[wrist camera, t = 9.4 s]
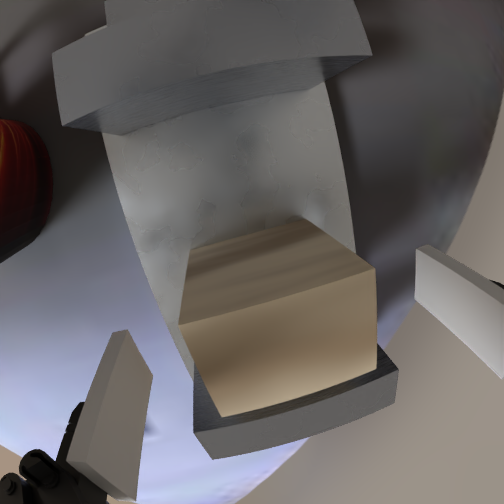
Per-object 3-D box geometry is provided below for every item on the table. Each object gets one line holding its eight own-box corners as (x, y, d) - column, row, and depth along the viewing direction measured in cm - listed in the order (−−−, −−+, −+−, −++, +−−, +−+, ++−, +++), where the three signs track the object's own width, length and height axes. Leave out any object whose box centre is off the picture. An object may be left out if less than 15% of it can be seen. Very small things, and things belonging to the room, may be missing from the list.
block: (189, 250, 17) (178, 325, 9) (305, 218, 17) (375, 268, 10) (214, 322, 19) (221, 417, 11) (318, 292, 19) (376, 368, 11)
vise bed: (92, 41, 13) (31, -13, 5) (287, -4, 14) (333, -75, 6) (199, 380, 22) (202, 469, 14) (354, 335, 23) (406, 405, 15)
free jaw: (98, 21, 11) (41, -43, 4) (288, -20, 12) (335, -95, 4) (119, 135, 14) (46, 123, 7) (323, 87, 15) (406, 49, 7)
